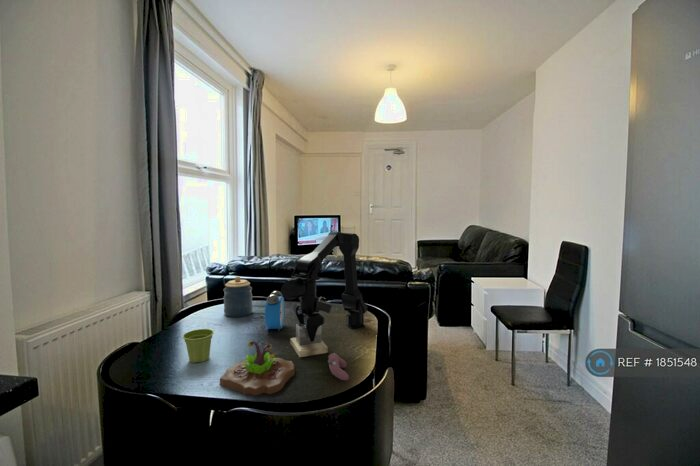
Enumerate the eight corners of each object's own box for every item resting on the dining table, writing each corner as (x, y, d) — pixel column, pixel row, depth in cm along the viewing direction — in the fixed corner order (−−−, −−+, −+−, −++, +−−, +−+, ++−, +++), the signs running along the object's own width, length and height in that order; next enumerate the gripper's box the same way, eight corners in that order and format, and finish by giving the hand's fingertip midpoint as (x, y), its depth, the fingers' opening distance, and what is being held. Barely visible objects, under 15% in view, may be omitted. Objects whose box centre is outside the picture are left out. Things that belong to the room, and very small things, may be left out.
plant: (248, 359, 118) (247, 326, 117) (302, 367, 112) (302, 333, 112) (208, 389, 99) (207, 350, 98) (271, 400, 93) (270, 359, 92)
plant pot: (195, 368, 111) (194, 341, 110) (177, 361, 116) (176, 335, 115) (220, 357, 119) (219, 332, 118) (202, 351, 124) (202, 327, 123)
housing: (295, 340, 128) (295, 322, 127) (317, 337, 131) (317, 319, 130) (299, 345, 123) (299, 327, 122) (321, 342, 126) (321, 324, 126)
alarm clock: (279, 333, 141) (279, 296, 139) (264, 333, 141) (263, 296, 139) (285, 322, 154) (284, 288, 153) (271, 323, 154) (270, 288, 152)
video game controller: (334, 371, 112) (324, 352, 111) (347, 364, 112) (337, 345, 112) (336, 387, 102) (325, 367, 102) (350, 380, 103) (339, 359, 102)
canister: (258, 312, 169) (257, 275, 168) (236, 319, 158) (235, 280, 157) (240, 307, 176) (239, 272, 175) (217, 314, 165) (216, 277, 164)
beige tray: (316, 339, 135) (316, 333, 135) (327, 352, 123) (327, 346, 123) (290, 343, 131) (290, 337, 131) (299, 357, 119) (299, 350, 119)
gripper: (338, 298, 120) (338, 342, 121) (321, 286, 137) (321, 325, 138) (306, 301, 116) (307, 348, 117) (293, 289, 133) (293, 329, 134)
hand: (308, 336), depth 127 cm, fingers open, 9 cm apart
